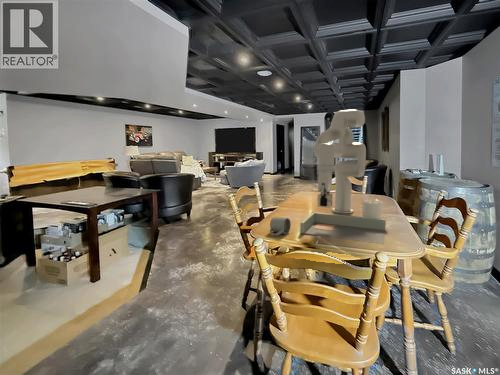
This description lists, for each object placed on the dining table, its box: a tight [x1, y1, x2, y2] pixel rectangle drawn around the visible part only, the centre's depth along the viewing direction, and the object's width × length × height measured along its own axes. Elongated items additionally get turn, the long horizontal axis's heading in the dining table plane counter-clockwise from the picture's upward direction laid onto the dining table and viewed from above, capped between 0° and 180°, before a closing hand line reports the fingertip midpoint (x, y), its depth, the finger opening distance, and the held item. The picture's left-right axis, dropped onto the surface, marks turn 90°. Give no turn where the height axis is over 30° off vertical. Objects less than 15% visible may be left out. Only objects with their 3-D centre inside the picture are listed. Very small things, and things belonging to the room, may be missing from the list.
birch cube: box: [316, 192, 334, 209], centre depth 138 cm, size 6×6×6 cm
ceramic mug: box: [269, 216, 292, 237], centre depth 133 cm, size 11×8×8 cm
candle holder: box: [361, 199, 384, 219], centre depth 146 cm, size 10×10×12 cm
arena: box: [299, 211, 387, 245], centre depth 134 cm, size 22×36×6 cm, turn 63°
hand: (325, 204), depth 138 cm, fingers closed on birch cube, 6 cm apart
